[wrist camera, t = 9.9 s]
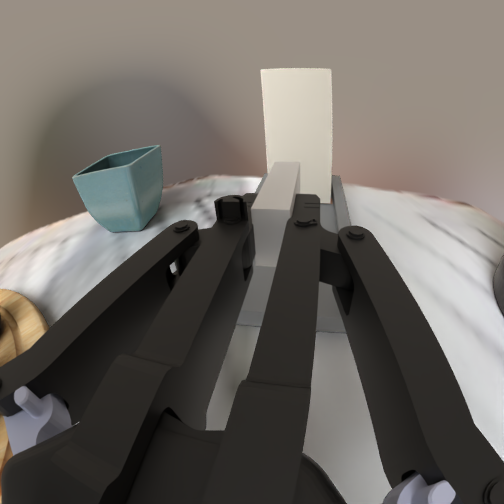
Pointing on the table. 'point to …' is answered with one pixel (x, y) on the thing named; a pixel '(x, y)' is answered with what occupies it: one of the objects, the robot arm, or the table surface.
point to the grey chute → (328, 311)
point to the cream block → (300, 124)
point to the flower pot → (123, 188)
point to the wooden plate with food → (16, 344)
